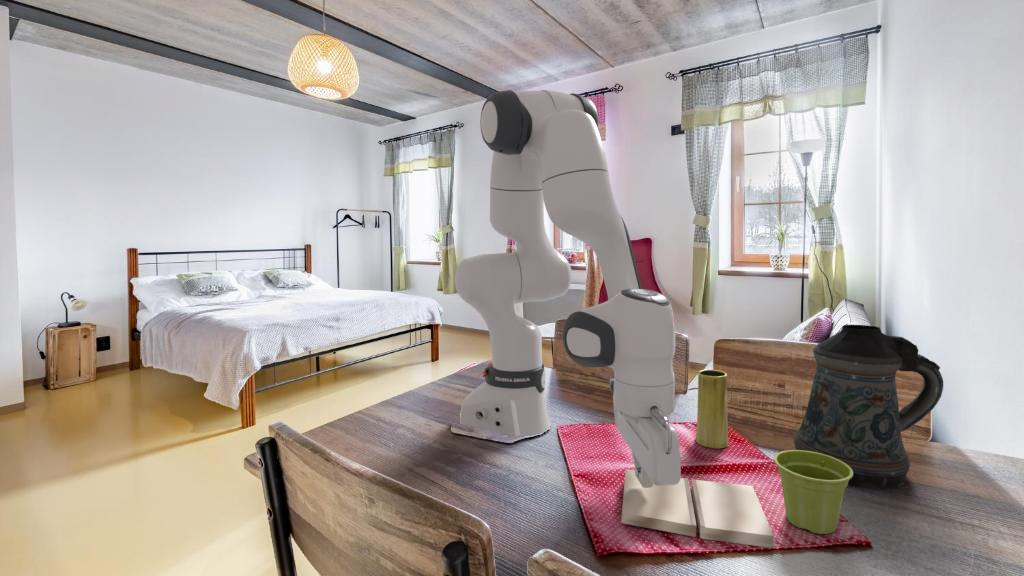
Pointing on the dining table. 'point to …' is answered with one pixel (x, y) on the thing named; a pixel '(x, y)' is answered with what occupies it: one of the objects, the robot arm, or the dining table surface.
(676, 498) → the loose plank
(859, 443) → the beer stein
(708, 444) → the vase
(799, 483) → the plant pot
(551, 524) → the dining table surface
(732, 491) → the board
